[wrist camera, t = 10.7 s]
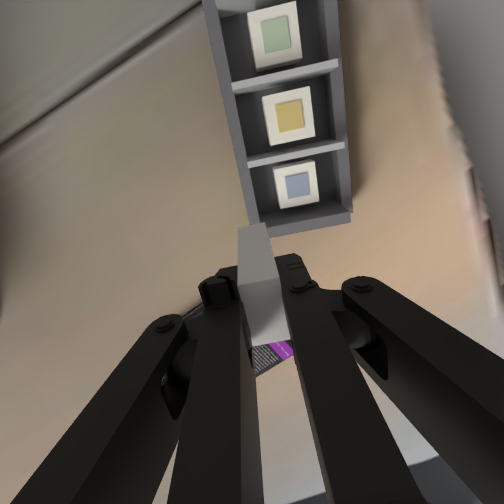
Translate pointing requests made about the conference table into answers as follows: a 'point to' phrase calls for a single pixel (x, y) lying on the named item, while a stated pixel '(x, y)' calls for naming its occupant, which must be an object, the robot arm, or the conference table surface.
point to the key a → (275, 36)
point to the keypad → (276, 81)
